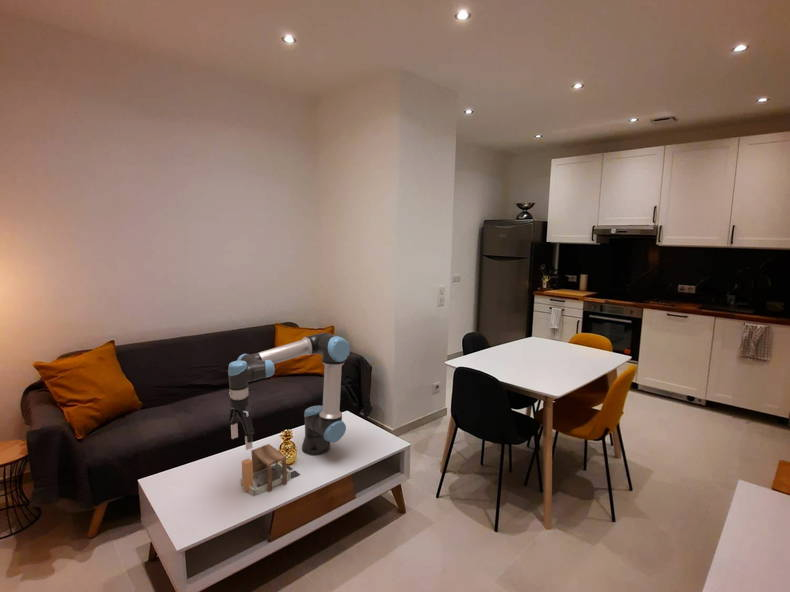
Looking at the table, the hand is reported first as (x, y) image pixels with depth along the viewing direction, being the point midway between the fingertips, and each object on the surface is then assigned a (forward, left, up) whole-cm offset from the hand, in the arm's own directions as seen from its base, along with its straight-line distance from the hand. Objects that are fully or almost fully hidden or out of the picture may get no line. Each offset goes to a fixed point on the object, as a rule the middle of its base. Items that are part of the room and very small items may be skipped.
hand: (241, 443), depth 181 cm
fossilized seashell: (-13, -2, -25) cm, 28 cm away
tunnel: (-13, -2, -24) cm, 28 cm away
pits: (-24, -2, -24) cm, 34 cm away
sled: (-11, -2, -24) cm, 26 cm away
